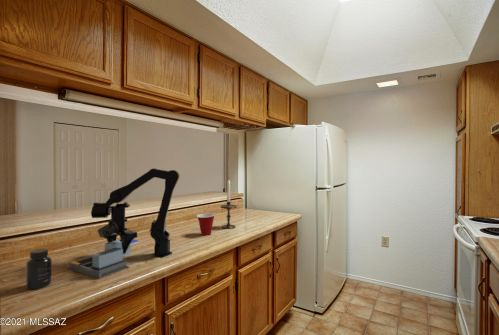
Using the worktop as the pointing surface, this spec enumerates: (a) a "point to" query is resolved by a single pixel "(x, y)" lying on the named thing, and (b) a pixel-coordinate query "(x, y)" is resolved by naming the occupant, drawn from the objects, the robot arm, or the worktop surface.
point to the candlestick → (228, 208)
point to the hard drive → (134, 241)
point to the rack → (101, 263)
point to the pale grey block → (118, 245)
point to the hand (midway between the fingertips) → (118, 252)
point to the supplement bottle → (38, 269)
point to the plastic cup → (206, 223)
